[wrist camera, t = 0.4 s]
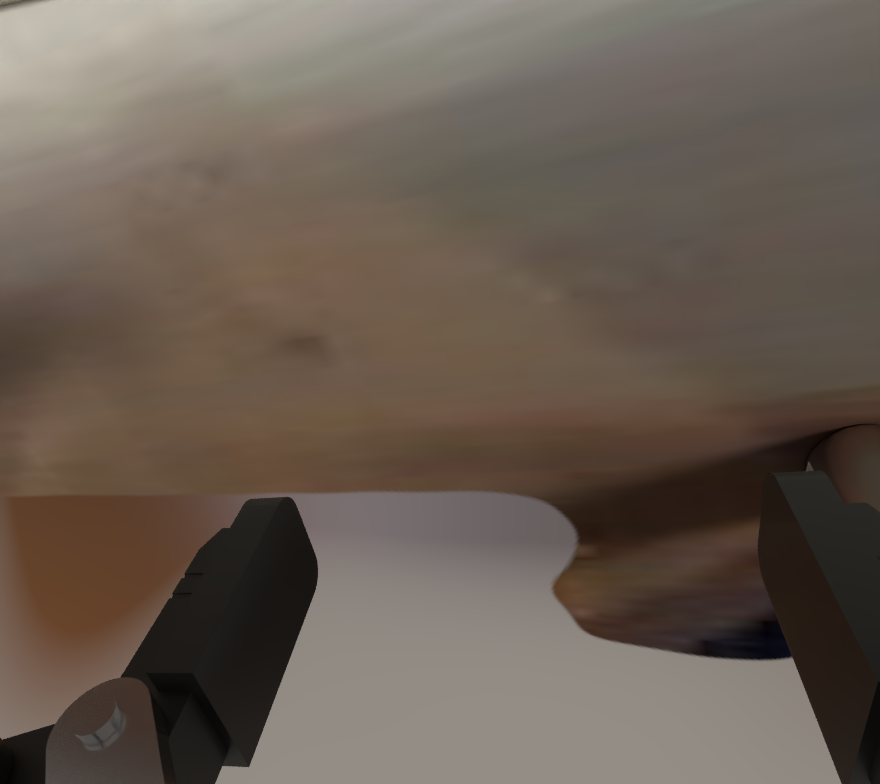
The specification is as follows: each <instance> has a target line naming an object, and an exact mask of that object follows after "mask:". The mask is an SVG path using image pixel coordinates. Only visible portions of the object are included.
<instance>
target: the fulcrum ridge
mask: <svg viewBox="0 0 880 784" xmlns="http://www.w3.org/2000/svg"><path fill="white" fill-rule="evenodd" d="M18 1H22V0H0V6H1V5H5V4H9V3H13V2H18Z"/></svg>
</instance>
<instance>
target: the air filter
mask: <svg viewBox="0 0 880 784" xmlns="http://www.w3.org/2000/svg"><path fill="white" fill-rule="evenodd" d="M817 470H820V471H823V472H824V473H825V474H826V475H827V476H828V477H829V479H830V481H831V482H832V484H833V486H834V487H835V489H836V490H837V492H838V494H839V495H840V497H841V499H842V500H843V502H844V503H864V502H867V503H868V504H869V505H871V506H872V507H873V508H875V509H876V510H877V511H879V512H880V425H858V426H853V427H848V428H845V429H843V430H840V431H838V432H835V433H833V434H832V435H830V436H829V437H827V438H825V439H824V440H822V441H821V442H820V443H819V444H818V445H817V446H816V447H815V448H814V449H813V450H812V452H811V454H810V455H809V457H808V459H807V462H806V466H805V471H817Z"/></svg>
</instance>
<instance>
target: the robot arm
mask: <svg viewBox="0 0 880 784" xmlns="http://www.w3.org/2000/svg"><path fill="white" fill-rule="evenodd" d="M758 558H759V565H760V570H761V575H762V578H763V582H764V585H765V587H766V590H767V592H768V595H769V598H770V600H771V603H772V605H773V608H774V610H775V613H776V616H777V618H778V621H779V623H780V626H781V629H782V631H783V634H784V636H785V639H786V641H787V644H788V647H789V649H790V652H791V654H792V657H793V659H794V662H795V664H796V667H797V670H798V672H799V675H800V677H801V680H802V683H803V685H804V688H805V690H806V693H807V695H808V698H809V701H810V703H811V706H812V708H813V711H814V714H815V716H816V718H817V721H818V724H819V726H820V729H821V731H822V734H823V737H824V739H825V742H826V744H827V747H828V749H829V752H830V755H831V757H832V760H833V762H834V765H835V767H836V770H837V773H838V775H839V778H840V780H841V783H842V784H880V512H879V511H877V510H876V509H875V508H873V507H872V506H871V505H869V504H868V503H867V502H864V503H844V502H843V500H842V499H841V497H840V495H839V494H838V492H837V490H836V489H835V487H834V486H833V484H832V482H831V481H830V479H829V477H828V476H827V475H826V474H825V473H824V472H823V471H820V470H817V471H798V472H779V473H768V474H767V476H766V478H765V482H764V491H763V500H762V510H761V519H760V528H759V538H758ZM317 579H318V565H317V559H316V555H315V553H314V550H313V547H312V545H311V542H310V540H309V537H308V534H307V532H306V529H305V527H304V524H303V521H302V519H301V516H300V514H299V511H298V508H297V506H296V504H295V502H294V501H293V500H292V499H291V498H290V497H279V498H260V499H250V500H248V501H246V502H245V504H244V505H243V506H242V508H241V510H240V512H239V513H238V515H237V517H236V518H235V520H234V522H233V524H232V525H231V527H230V528H222V529H221V530H220V531H219V532H218V533H217V534H216V535H215V536H213V537H212V538H211V539H210V540H209V541H208V542H207V543H206V544H205V545H204V546H203V547H201V548H200V549H199V551H198V553H197V554H196V556H195V557H194V559H193V561H192V562H191V564H190V565H189V567H188V569H187V570H186V572H185V578H182V579H181V580H180V582H179V583H178V585H177V587H176V588H175V590H174V591H173V597H172V598H170V599H169V600H168V601H167V603H166V605H165V606H164V608H163V609H162V611H161V613H160V614H159V616H158V617H157V619H156V621H155V622H154V624H153V626H152V627H151V629H150V630H149V632H148V634H147V635H146V637H145V639H144V640H143V642H142V644H141V645H140V647H139V648H138V650H137V652H136V653H135V655H134V657H133V658H132V660H131V662H130V663H129V665H128V666H127V668H126V670H125V671H124V673H123V674H122V676H121V677H120V678H117V679H112V680H109V681H106V682H104V683H101V684H99V685H97V686H95V687H94V688H92V689H90V690H89V691H87V692H86V693H84V694H83V695H81V696H80V697H79V698H78V699H77V700H75V701H74V702H73V703H72V704H71V705H70V706H69V707H68V708H67V709H66V710H65V712H64V713H63V714H62V715H61V717H60V718H59V719H58V721H57V722H56V724H53V725H50V726H46V727H43V728H40V729H37V730H33V731H30V732H27V733H23V734H20V735H17V736H13V737H10V738H7V739H3V740H2V739H1V738H0V784H215V782H216V780H217V777H218V775H219V772H220V770H221V768H222V766H238V767H240V766H241V767H249V765H250V763H251V760H252V758H253V755H254V752H255V750H256V747H257V744H258V741H259V739H260V736H261V734H262V731H263V728H264V726H265V723H266V720H267V718H268V715H269V712H270V710H271V707H272V704H273V702H274V699H275V696H276V694H277V691H278V688H279V686H280V683H281V680H282V678H283V675H284V672H285V670H286V667H287V664H288V662H289V659H290V657H291V654H292V651H293V649H294V646H295V643H296V640H297V638H298V635H299V632H300V630H301V627H302V625H303V622H304V619H305V617H306V614H307V611H308V608H309V606H310V603H311V601H312V598H313V595H314V593H315V590H316V585H317Z"/></svg>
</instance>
